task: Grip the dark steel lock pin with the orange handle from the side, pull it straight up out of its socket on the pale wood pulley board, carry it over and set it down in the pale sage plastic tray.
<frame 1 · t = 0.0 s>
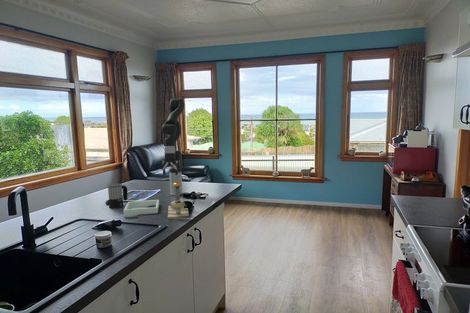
hand: (170, 175, 224), 17 cm above the worktop, tool pointing down, fingers open, 8 cm apart
pulley board: (178, 208, 199), on the worktop
lock pin: (178, 207, 199), point 1 cm above the worktop, touching pulley board
tray: (142, 211, 195), on the worktop
milk frother: (114, 206, 210), on the worktop
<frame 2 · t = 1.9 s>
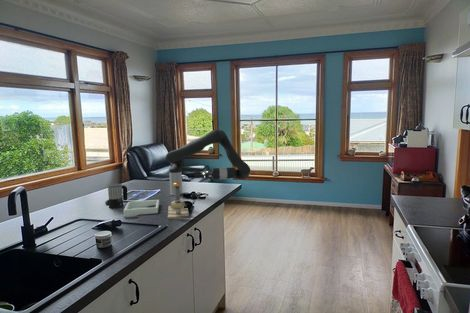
hand: (194, 175, 199), 21 cm above the worktop, tool horizontal, fingers open, 8 cm apart
nothing on the worktop moved.
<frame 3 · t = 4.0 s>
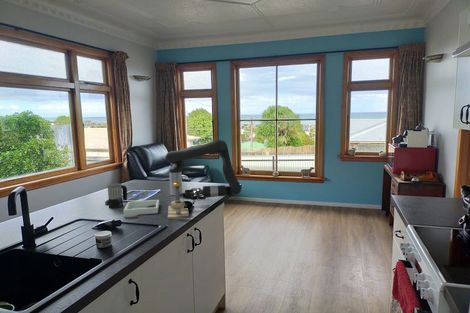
hand: (185, 193, 199), 10 cm above the worktop, tool horizontal, fingers open, 8 cm apart
nothing on the worktop moved.
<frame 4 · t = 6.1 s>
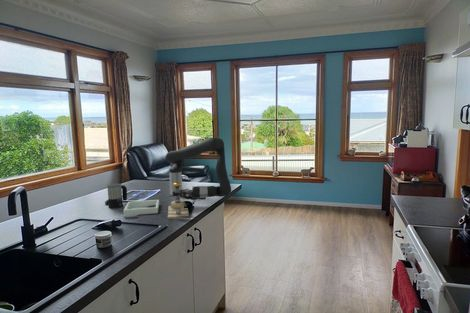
hand: (172, 193, 197), 10 cm above the worktop, tool horizontal, fingers closed on lock pin, 3 cm apart
lock pin: (178, 207, 199), point 1 cm above the worktop, touching gripper, pulley board
everything else where it was.
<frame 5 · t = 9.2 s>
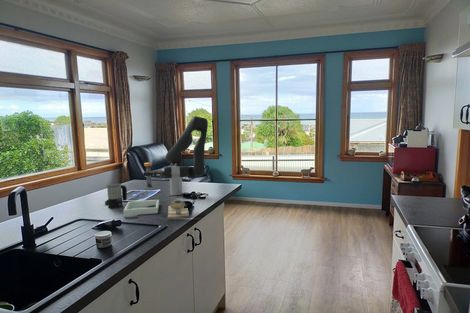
hand: (143, 173, 192), 24 cm above the worktop, tool horizontal, fingers closed on lock pin, 3 cm apart
lock pin: (149, 187, 194), point 15 cm above the worktop, touching gripper
everything else where it was.
when the fingers open (11 cm above the worktop, at t = 12.4 s): lock pin drops 1 cm, resting on tray.
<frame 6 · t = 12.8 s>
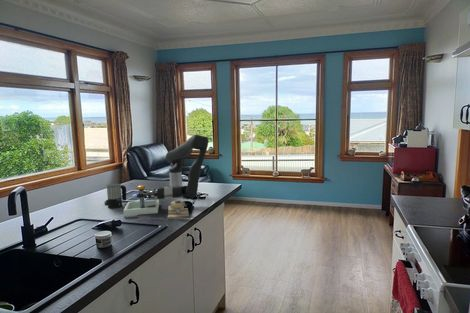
hand: (137, 194, 193), 11 cm above the worktop, tool horizontal, fingers open, 7 cm apart
lock pin: (142, 210, 195), point 1 cm above the worktop, touching tray
everything else where it was.
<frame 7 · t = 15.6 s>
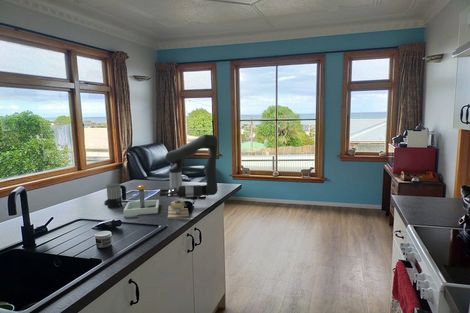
hand: (159, 192, 196), 11 cm above the worktop, tool horizontal, fingers open, 8 cm apart
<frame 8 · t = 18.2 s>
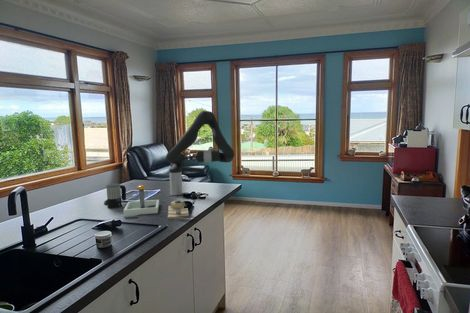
hand: (178, 157, 202), 32 cm above the worktop, tool horizontal, fingers open, 8 cm apart
at the end: lock pin inside the target area on the tray (0.1 cm from its centre), point 0.8 cm above the tray's base; the gripper is holding nothing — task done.
